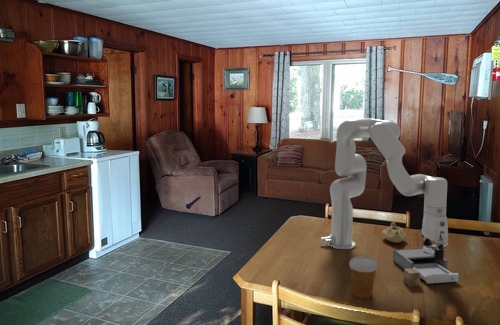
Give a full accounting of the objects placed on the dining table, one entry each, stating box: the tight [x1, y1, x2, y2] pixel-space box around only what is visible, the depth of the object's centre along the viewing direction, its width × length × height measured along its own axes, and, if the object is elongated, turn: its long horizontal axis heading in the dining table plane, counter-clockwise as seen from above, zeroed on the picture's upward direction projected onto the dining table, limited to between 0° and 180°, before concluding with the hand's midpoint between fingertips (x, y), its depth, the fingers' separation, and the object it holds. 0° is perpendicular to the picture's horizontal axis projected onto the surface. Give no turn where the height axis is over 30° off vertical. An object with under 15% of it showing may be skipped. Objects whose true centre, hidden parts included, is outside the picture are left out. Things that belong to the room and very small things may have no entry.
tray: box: [413, 263, 460, 284], centre depth 152 cm, size 12×14×3 cm
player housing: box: [392, 247, 448, 270], centre depth 161 cm, size 15×14×5 cm
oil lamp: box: [381, 221, 407, 244], centre depth 191 cm, size 11×15×8 cm
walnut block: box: [403, 268, 421, 287], centre depth 146 cm, size 4×4×5 cm
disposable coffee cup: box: [348, 256, 378, 299], centre depth 138 cm, size 10×10×12 cm
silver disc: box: [422, 244, 436, 256], centre depth 151 cm, size 7×7×2 cm
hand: (432, 255), depth 151 cm, fingers closed on silver disc, 7 cm apart
